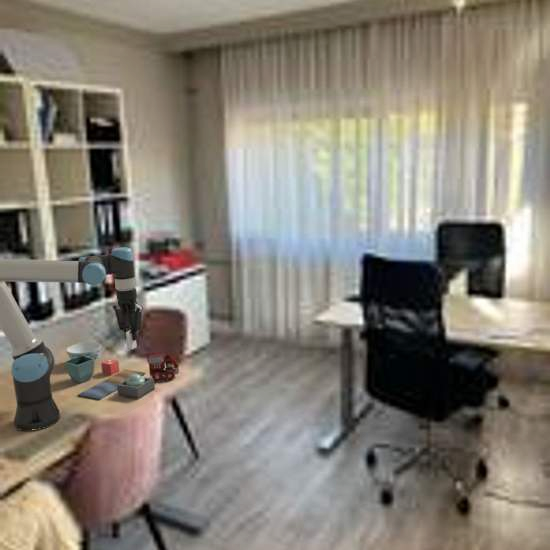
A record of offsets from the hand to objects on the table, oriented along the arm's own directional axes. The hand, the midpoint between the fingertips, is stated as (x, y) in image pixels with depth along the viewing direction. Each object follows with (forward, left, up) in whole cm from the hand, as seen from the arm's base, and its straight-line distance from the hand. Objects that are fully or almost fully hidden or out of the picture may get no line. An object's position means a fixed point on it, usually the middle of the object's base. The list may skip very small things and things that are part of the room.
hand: (132, 347), depth 224 cm
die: (+13, +25, -18) cm, 33 cm away
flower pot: (+2, +31, -19) cm, 36 cm away
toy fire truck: (+16, -1, -19) cm, 25 cm away
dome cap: (0, 0, -16) cm, 16 cm away
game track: (+3, +15, -18) cm, 24 cm away
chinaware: (+18, +44, -19) cm, 51 cm away
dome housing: (0, 0, -18) cm, 18 cm away
